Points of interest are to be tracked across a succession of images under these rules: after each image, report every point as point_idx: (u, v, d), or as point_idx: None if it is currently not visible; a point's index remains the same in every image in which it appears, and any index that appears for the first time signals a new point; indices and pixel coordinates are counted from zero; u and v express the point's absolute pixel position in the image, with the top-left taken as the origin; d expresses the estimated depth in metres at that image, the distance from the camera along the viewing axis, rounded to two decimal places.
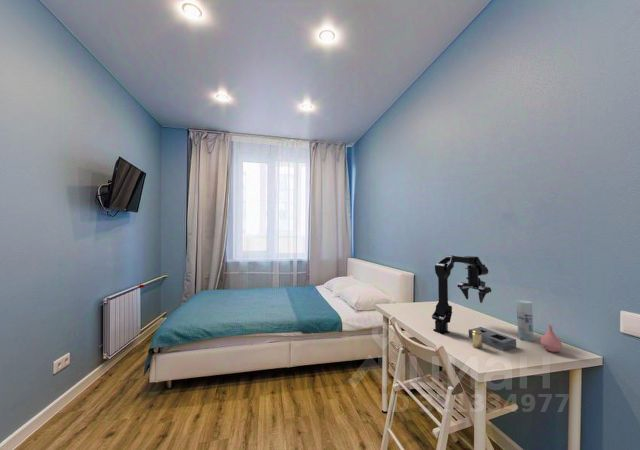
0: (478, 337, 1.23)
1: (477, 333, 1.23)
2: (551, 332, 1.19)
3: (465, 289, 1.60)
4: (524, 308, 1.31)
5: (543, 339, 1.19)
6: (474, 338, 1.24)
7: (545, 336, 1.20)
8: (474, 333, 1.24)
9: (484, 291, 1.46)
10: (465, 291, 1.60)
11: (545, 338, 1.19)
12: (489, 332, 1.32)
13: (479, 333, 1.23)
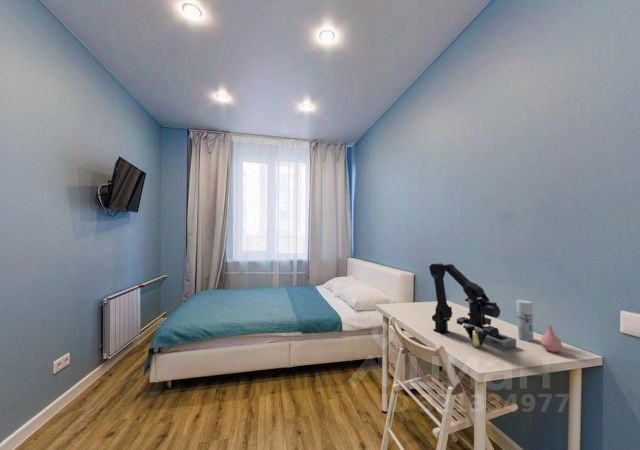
0: (478, 337, 1.23)
1: (477, 333, 1.23)
2: (551, 332, 1.19)
3: (470, 328, 1.27)
4: (524, 308, 1.31)
5: (543, 339, 1.19)
6: (474, 338, 1.24)
7: (545, 336, 1.20)
8: (474, 333, 1.24)
9: (490, 334, 1.16)
10: (470, 331, 1.27)
11: (545, 338, 1.19)
12: None
13: None
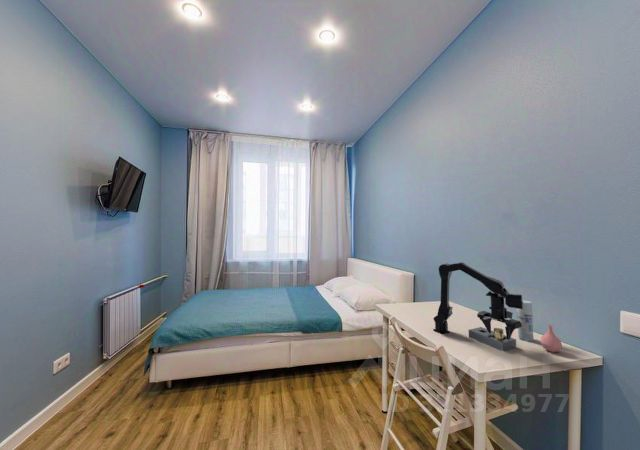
0: (500, 335, 1.25)
1: (499, 331, 1.25)
2: (551, 332, 1.19)
3: (487, 320, 1.31)
4: (524, 308, 1.31)
5: (543, 339, 1.19)
6: (496, 336, 1.25)
7: (545, 336, 1.20)
8: (496, 331, 1.26)
9: (513, 327, 1.17)
10: (487, 323, 1.31)
11: (545, 338, 1.19)
12: None
13: (501, 331, 1.25)
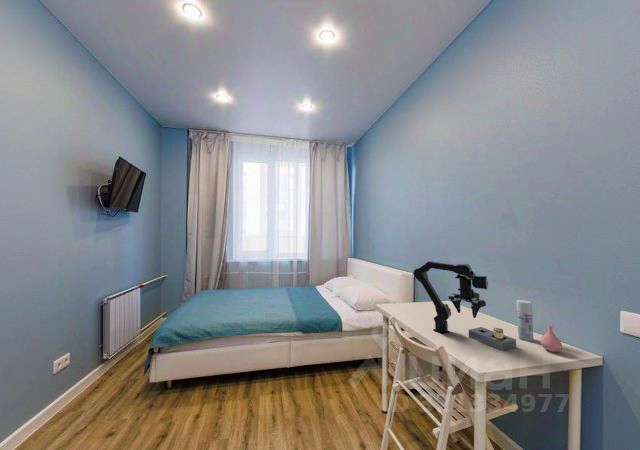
0: (500, 335, 1.25)
1: (499, 331, 1.25)
2: (551, 332, 1.19)
3: (457, 301, 1.41)
4: (524, 308, 1.31)
5: (543, 339, 1.19)
6: (496, 336, 1.25)
7: (545, 336, 1.20)
8: (496, 331, 1.26)
9: (478, 305, 1.27)
10: (457, 304, 1.41)
11: (545, 338, 1.19)
12: (489, 332, 1.32)
13: (501, 331, 1.25)
